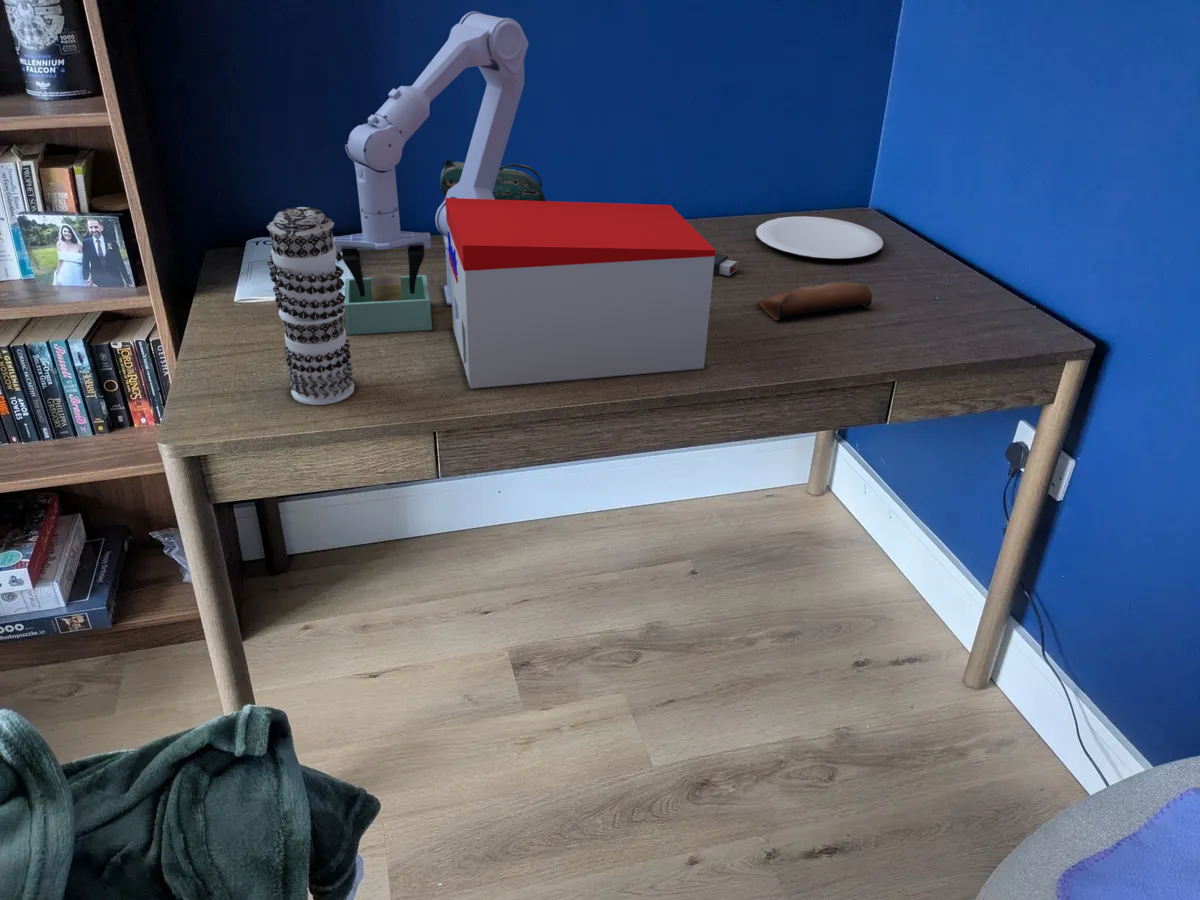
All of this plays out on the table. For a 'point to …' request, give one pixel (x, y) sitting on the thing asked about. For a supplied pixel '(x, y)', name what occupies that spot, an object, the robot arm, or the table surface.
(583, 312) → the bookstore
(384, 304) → the desk bin
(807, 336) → the table surface
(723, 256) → the usb drive
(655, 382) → the table surface
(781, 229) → the plate
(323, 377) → the decorative candle
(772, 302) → the sunglasses case
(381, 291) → the beech block
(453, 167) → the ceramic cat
